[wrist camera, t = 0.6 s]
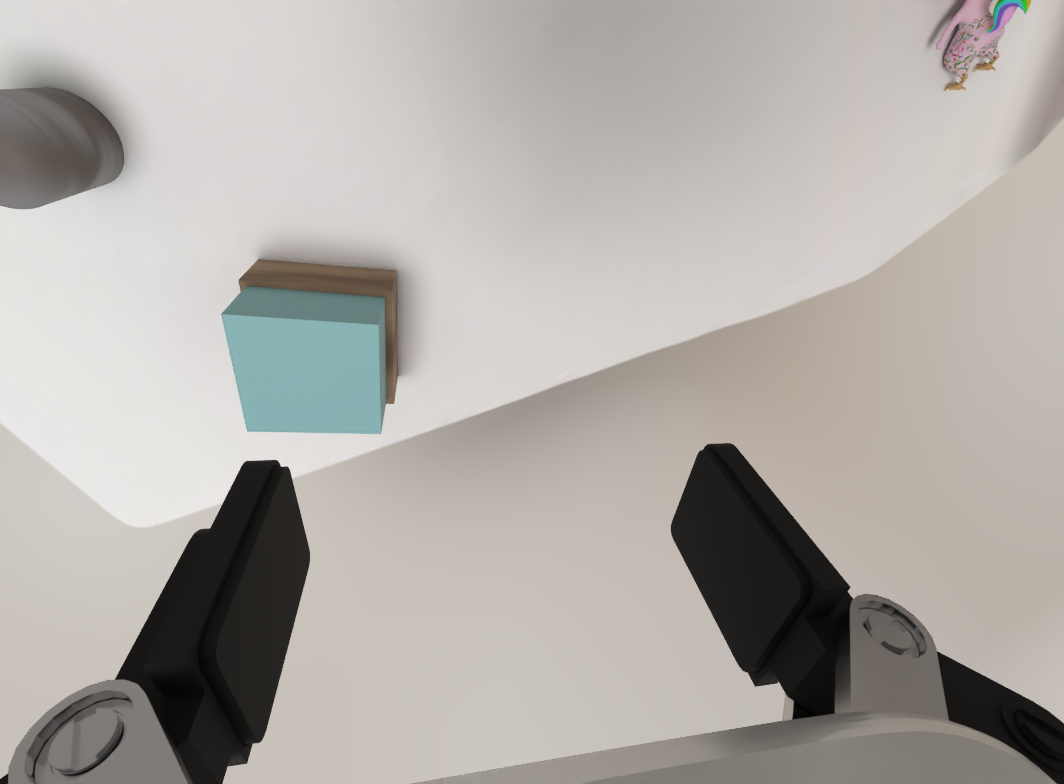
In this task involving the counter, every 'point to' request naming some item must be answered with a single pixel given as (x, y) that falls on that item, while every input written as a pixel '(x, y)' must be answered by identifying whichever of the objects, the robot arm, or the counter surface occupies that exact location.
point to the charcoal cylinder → (53, 147)
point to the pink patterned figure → (976, 35)
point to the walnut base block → (336, 282)
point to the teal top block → (308, 360)
